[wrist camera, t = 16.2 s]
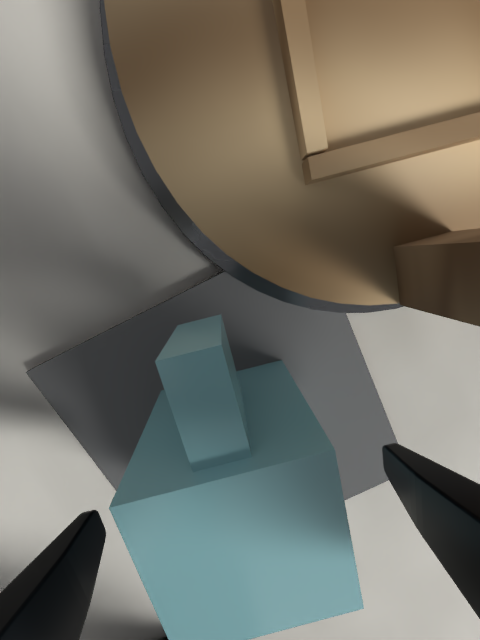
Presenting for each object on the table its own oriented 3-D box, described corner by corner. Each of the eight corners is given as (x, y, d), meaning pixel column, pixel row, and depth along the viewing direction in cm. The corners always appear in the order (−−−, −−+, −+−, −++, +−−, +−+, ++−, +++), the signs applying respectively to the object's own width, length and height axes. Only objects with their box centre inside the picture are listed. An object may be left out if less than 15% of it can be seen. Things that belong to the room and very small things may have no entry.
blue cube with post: (303, 461, 12) (363, 608, 7) (195, 489, 12) (176, 658, 7) (267, 292, 10) (313, 327, 5) (138, 325, 10) (57, 393, 5)
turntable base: (252, 378, 11) (253, 384, 11) (-14, -127, 7) (-34, -160, 7) (635, 192, 11) (659, 188, 10) (570, -475, 7) (603, -543, 6)
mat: (182, 566, 13) (181, 575, 13) (32, 368, 11) (25, 372, 10) (403, 464, 13) (408, 470, 13) (308, 229, 10) (311, 227, 10)
